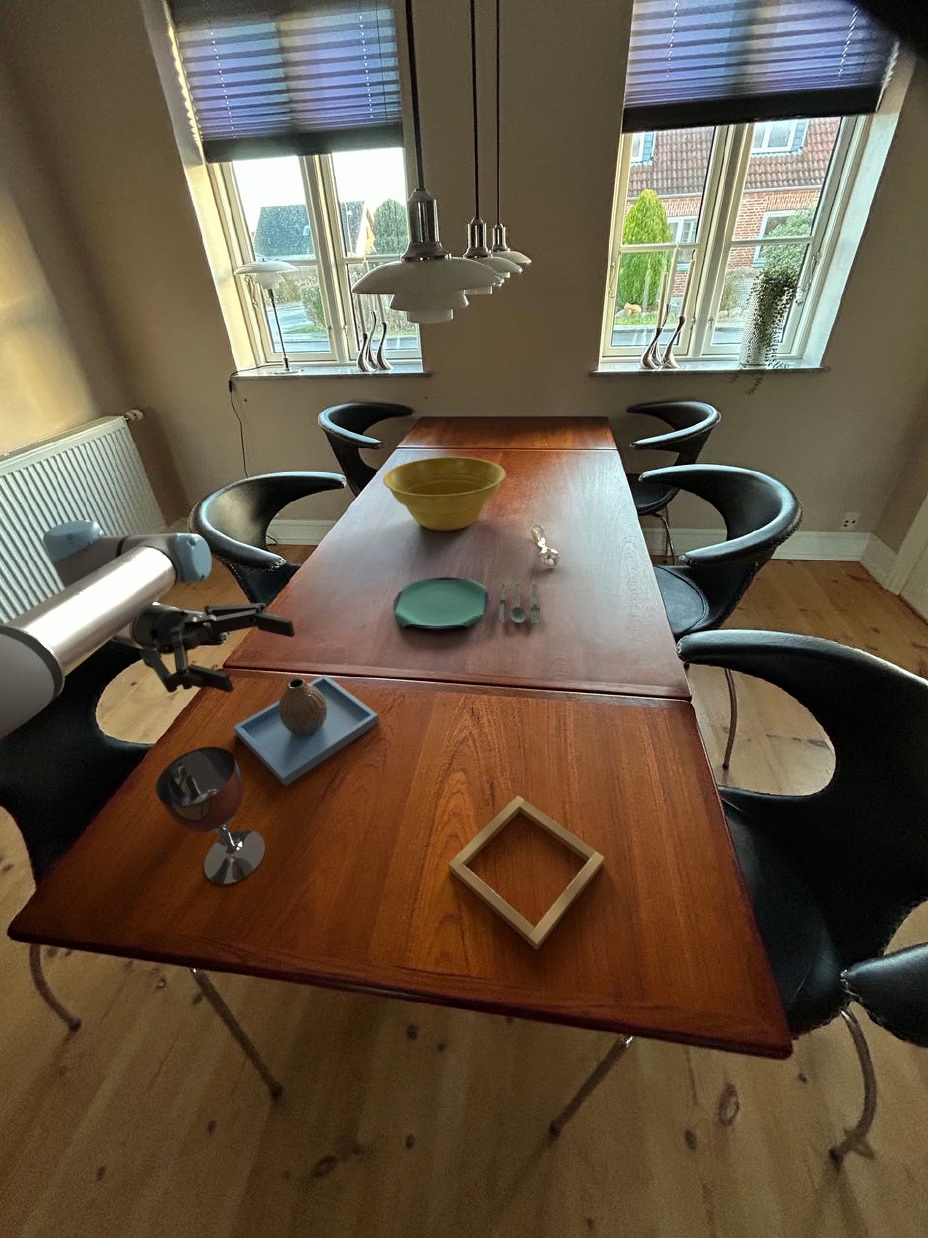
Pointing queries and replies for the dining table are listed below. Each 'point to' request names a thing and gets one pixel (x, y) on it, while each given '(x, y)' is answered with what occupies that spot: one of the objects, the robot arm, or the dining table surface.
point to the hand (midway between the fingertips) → (262, 654)
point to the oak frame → (497, 903)
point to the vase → (302, 708)
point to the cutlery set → (451, 604)
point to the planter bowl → (445, 489)
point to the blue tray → (303, 752)
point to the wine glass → (211, 809)
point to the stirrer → (545, 548)
